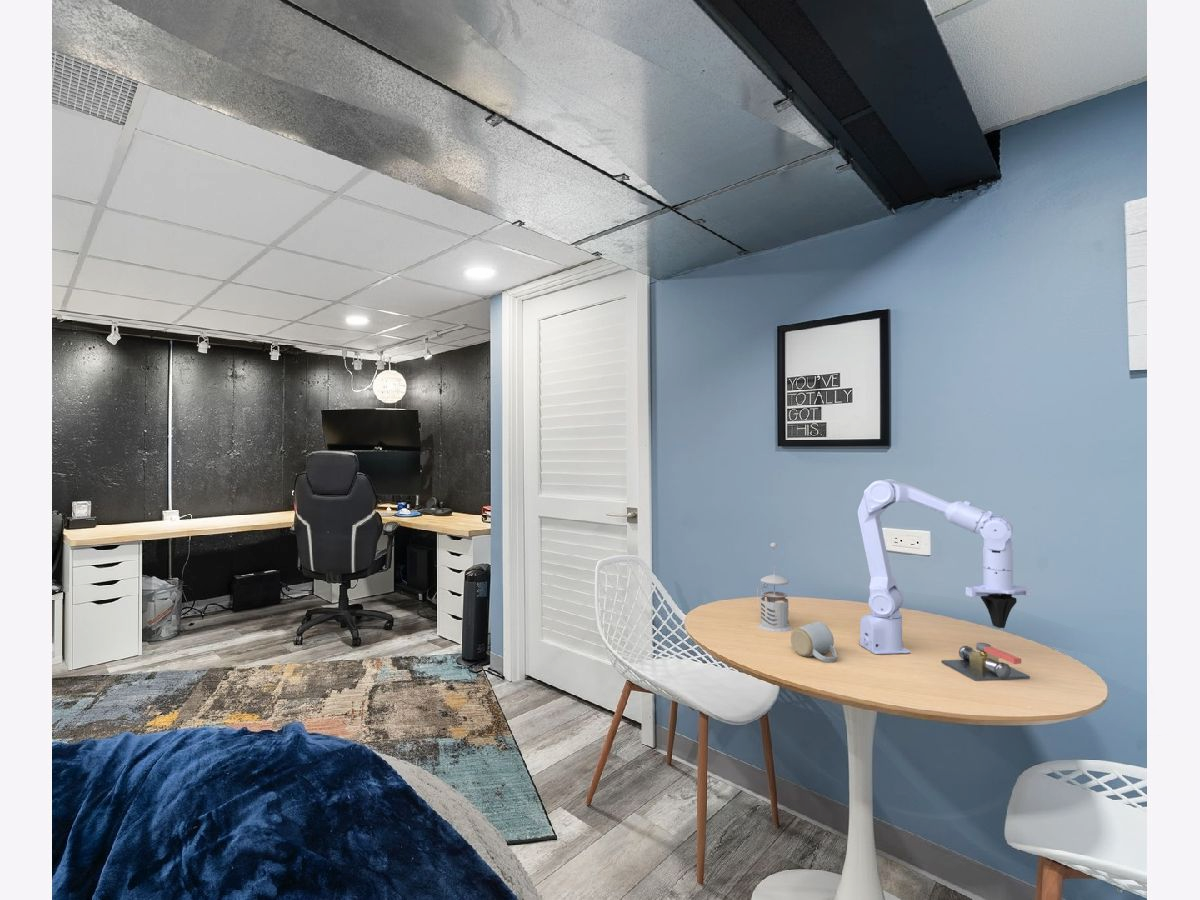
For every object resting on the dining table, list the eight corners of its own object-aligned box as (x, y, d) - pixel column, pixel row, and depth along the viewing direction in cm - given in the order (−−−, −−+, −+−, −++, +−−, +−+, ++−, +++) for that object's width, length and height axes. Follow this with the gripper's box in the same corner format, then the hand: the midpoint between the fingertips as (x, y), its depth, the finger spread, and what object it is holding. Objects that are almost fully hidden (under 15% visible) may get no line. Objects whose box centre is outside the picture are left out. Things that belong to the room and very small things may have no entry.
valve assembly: (1031, 679, 125) (1031, 659, 125) (976, 681, 124) (976, 661, 124) (990, 660, 137) (990, 641, 137) (940, 661, 136) (939, 643, 136)
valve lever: (973, 648, 132) (973, 643, 132) (984, 647, 132) (984, 642, 132) (1011, 664, 122) (1011, 658, 122) (1023, 663, 122) (1023, 658, 122)
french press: (772, 633, 159) (771, 545, 159) (746, 623, 169) (745, 540, 170) (799, 629, 163) (798, 543, 163) (772, 618, 173) (771, 538, 174)
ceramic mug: (788, 652, 144) (788, 622, 144) (810, 647, 148) (810, 618, 148) (822, 666, 134) (822, 634, 134) (845, 660, 138) (845, 629, 138)
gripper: (981, 572, 126) (982, 633, 126) (1041, 571, 127) (1042, 631, 127) (958, 566, 133) (959, 623, 133) (1016, 565, 134) (1017, 621, 134)
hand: (998, 626), depth 130 cm, fingers closed
